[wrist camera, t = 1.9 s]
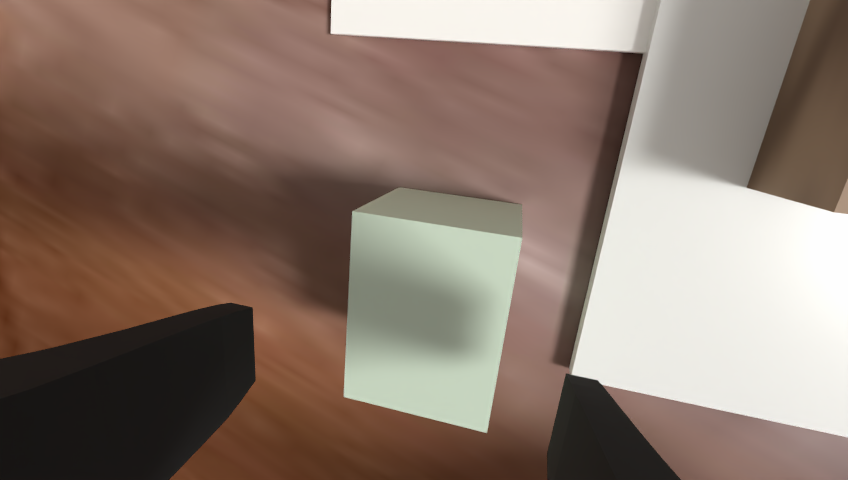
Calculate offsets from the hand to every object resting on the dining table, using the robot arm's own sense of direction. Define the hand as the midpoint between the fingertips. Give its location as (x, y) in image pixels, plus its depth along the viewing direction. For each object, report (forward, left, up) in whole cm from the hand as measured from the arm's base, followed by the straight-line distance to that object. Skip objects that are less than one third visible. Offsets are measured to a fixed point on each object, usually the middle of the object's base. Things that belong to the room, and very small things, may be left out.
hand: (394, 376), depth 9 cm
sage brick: (0, 0, -7) cm, 7 cm away
